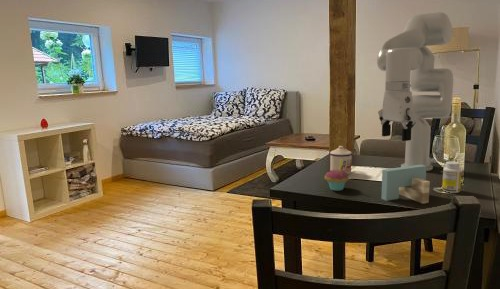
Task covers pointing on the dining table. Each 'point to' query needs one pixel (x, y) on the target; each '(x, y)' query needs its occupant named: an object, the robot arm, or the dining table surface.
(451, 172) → the supplement bottle
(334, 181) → the cupcake
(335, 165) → the teacup with lid
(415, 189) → the birch slotted plate
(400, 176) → the teal slotted plate
